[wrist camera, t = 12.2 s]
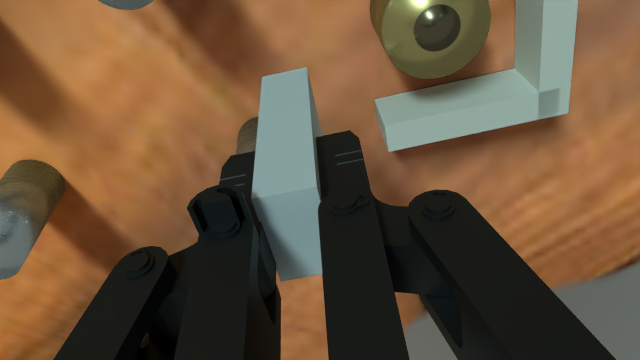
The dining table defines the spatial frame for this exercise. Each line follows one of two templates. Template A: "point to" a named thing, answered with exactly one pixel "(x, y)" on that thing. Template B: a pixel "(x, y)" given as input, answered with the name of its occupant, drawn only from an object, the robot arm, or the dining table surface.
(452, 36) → the gold round piece
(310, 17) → the dining table surface
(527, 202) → the dining table surface
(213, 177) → the dining table surface
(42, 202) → the spacers
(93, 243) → the dining table surface
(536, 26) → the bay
